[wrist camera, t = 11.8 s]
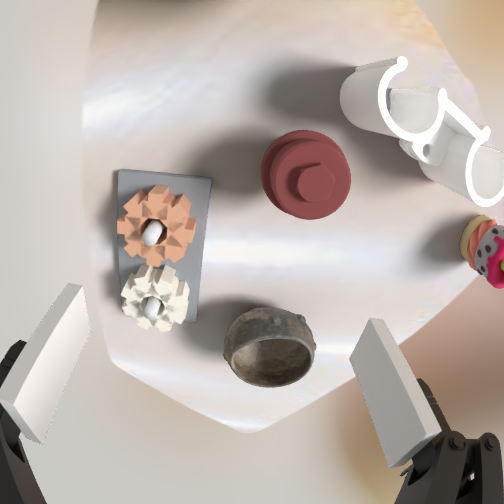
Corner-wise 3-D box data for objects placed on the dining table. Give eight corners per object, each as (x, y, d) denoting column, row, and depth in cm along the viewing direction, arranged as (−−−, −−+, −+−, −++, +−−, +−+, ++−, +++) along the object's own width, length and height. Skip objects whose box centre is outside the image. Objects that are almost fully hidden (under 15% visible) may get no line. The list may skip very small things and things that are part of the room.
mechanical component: (315, 204, 43) (248, 186, 41) (337, 139, 39) (268, 117, 37) (342, 240, 32) (253, 218, 30) (375, 153, 28) (282, 121, 26)
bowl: (236, 282, 48) (237, 323, 39) (323, 301, 51) (339, 341, 42) (216, 343, 54) (214, 385, 45) (293, 356, 57) (301, 396, 48)
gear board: (122, 168, 39) (101, 182, 32) (212, 178, 40) (207, 193, 34) (124, 306, 49) (112, 334, 43) (196, 317, 51) (192, 347, 44)
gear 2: (118, 270, 44) (109, 284, 41) (176, 256, 44) (172, 270, 40) (143, 320, 49) (137, 335, 45) (198, 310, 48) (195, 326, 45)
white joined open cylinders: (327, 115, 37) (361, 120, 26) (354, 58, 33) (396, 45, 22) (447, 192, 43) (492, 218, 32) (469, 144, 39) (518, 162, 28)
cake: (475, 204, 44) (529, 239, 30) (499, 225, 46) (547, 259, 33) (450, 251, 48) (497, 295, 35) (476, 267, 50) (518, 308, 37)
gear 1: (127, 181, 38) (117, 189, 35) (199, 189, 39) (196, 198, 36) (126, 248, 43) (118, 261, 39) (192, 257, 44) (189, 270, 40)
